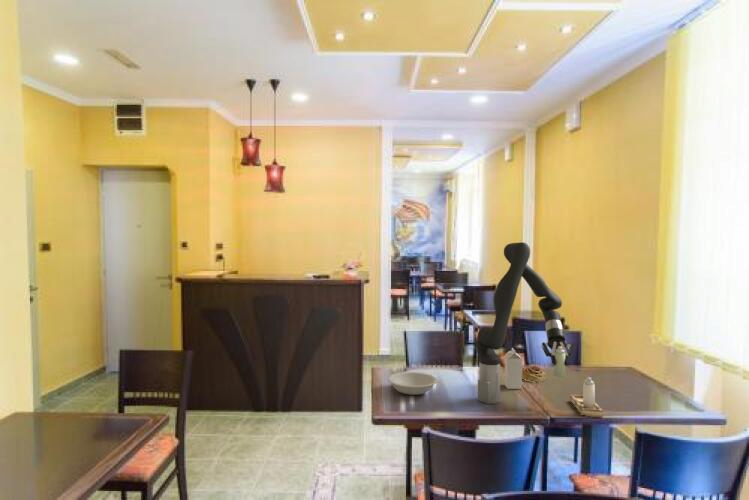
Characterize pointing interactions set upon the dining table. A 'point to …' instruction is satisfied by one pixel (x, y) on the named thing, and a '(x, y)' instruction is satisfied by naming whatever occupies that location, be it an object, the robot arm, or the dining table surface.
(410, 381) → the soup bowl
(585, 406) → the salt mill
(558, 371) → the pepper mill
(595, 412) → the condiment stand
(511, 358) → the milk carton
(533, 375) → the pastry
